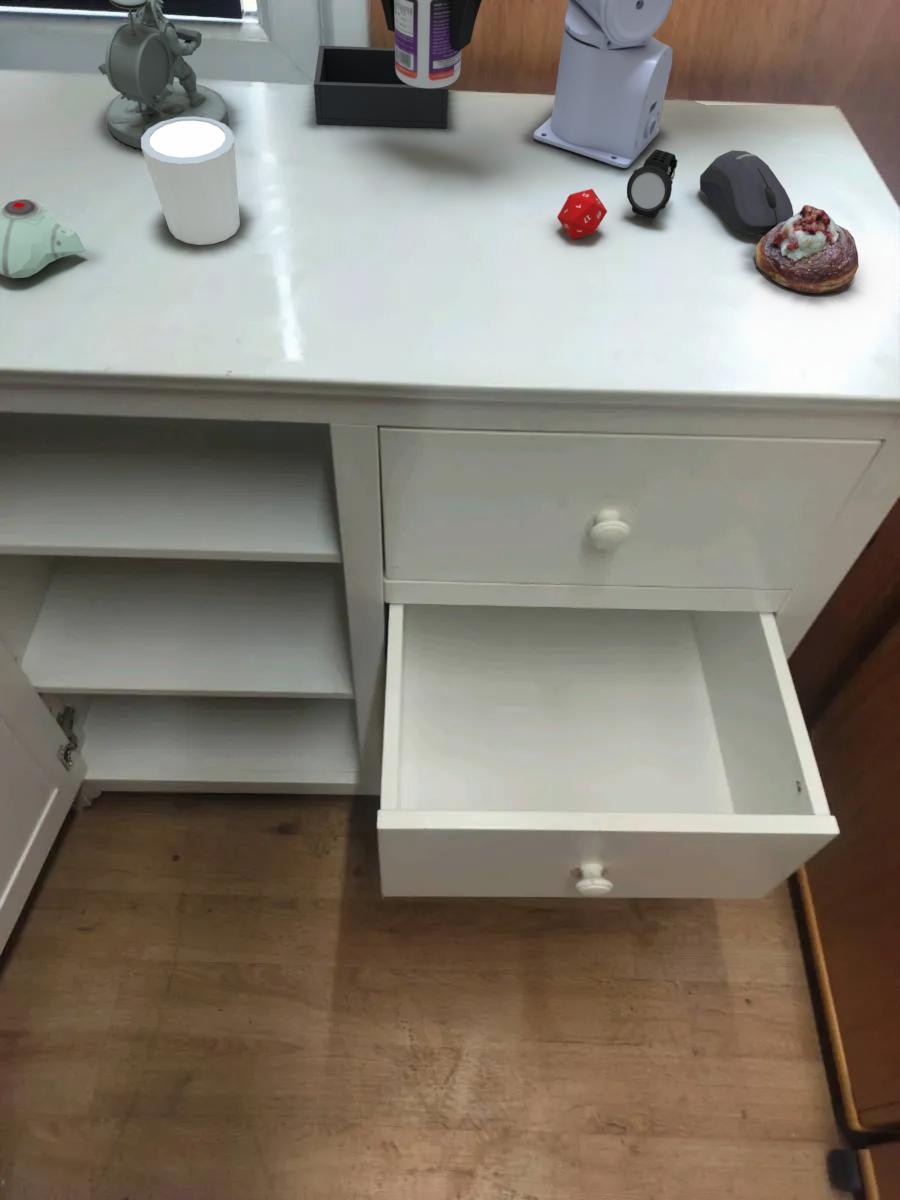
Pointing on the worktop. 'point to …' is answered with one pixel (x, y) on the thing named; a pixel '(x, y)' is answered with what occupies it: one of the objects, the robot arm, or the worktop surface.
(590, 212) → the die
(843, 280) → the pastry
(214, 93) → the figurine
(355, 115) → the bin
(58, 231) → the robot head
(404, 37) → the pill bottle
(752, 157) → the computer mouse
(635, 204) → the smartwatch
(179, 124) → the white cylinder
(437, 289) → the worktop surface
